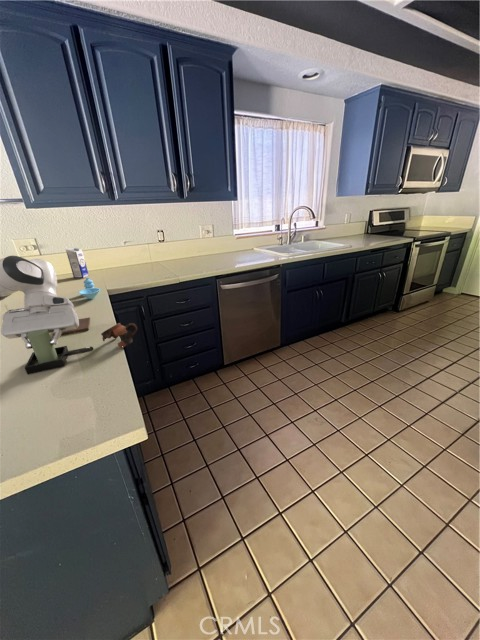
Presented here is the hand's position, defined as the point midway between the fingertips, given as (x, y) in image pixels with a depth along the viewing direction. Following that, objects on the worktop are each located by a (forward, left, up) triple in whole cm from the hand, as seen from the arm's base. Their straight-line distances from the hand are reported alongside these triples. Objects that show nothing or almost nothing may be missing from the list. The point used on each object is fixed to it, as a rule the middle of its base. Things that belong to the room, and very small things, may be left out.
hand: (42, 346), depth 82 cm
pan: (+4, +1, -6) cm, 8 cm away
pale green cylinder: (0, +1, -6) cm, 6 cm away
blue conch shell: (+9, +69, -7) cm, 69 cm away
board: (+4, +28, -6) cm, 29 cm away
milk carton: (0, +120, -7) cm, 120 cm away
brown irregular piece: (+22, +5, -7) cm, 24 cm away
